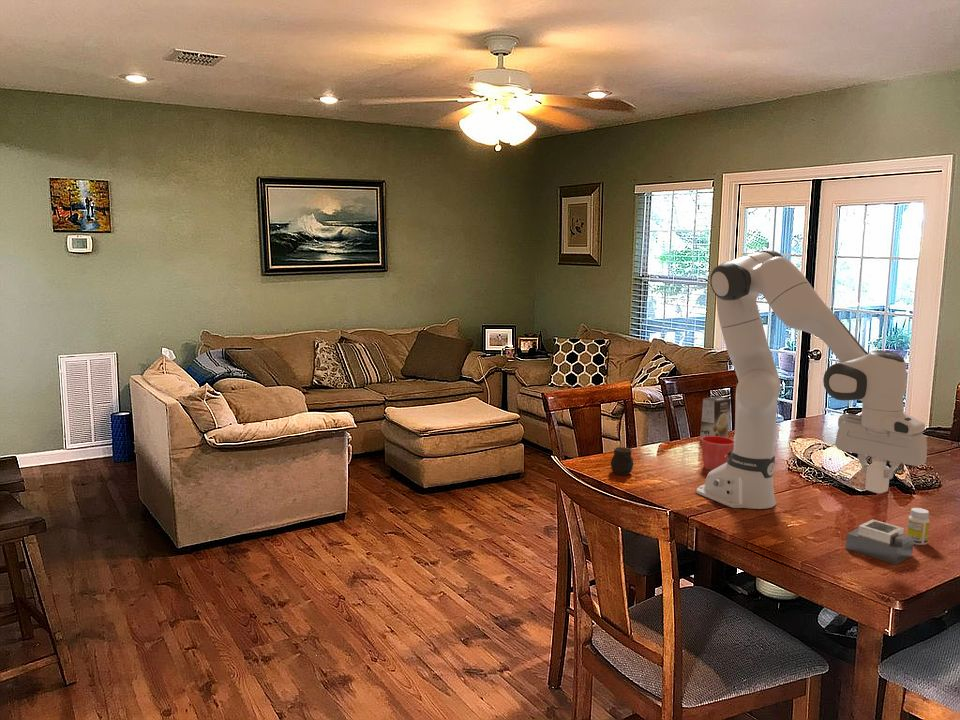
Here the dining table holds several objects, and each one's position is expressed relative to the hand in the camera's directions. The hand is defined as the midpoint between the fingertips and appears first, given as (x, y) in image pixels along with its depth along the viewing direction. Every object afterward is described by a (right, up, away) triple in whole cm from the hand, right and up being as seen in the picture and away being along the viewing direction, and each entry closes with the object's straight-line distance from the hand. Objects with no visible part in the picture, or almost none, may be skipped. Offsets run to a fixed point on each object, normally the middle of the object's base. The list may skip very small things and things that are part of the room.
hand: (877, 475), depth 189 cm
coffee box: (-7, -3, +107) cm, 108 cm away
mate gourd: (-50, -9, +63) cm, 81 cm away
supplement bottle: (+16, -19, +11) cm, 27 cm away
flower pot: (-17, -8, +71) cm, 74 cm away
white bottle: (0, -4, +1) cm, 4 cm away
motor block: (+2, -19, +4) cm, 20 cm away
